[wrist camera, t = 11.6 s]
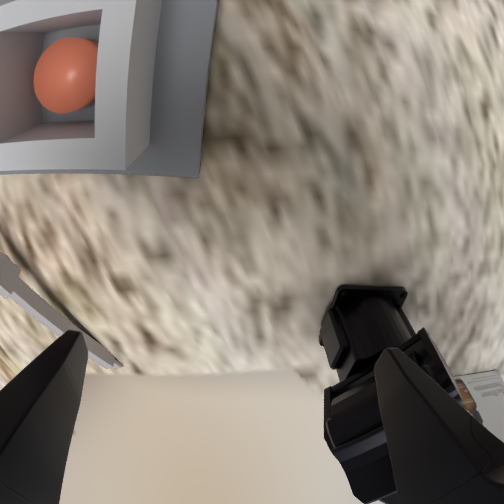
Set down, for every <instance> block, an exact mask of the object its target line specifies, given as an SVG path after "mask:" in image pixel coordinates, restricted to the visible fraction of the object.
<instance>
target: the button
mask: <svg viewBox="0 0 504 504" xmlns="http://www.w3.org/2000/svg"><path fill="white" fill-rule="evenodd" d="M98 43H99V42H98V41H96V40H92V39H86V38H77V37H68V38H63V39H61V40H58V41H56V42H54V43H53V44H52V45H50V46H49V47H48V48H47V49H46V50H45V51H44V52H43V54H42V55H41V57H40V58H39V60H38V62H37V65H36V68H35V71H34V79H33V83H34V90H35V94H36V96H37V98H38V100H39V102H40V103H41V104H42V105H43V106H44V107H45V108H46V109H48V110H50V111H52V112H55V113H69V112H73V111H75V110H78V109H81V108H84V107H86V106H89V105H91V104H93V103H95V87H96V68H97V55H98Z"/></svg>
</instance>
